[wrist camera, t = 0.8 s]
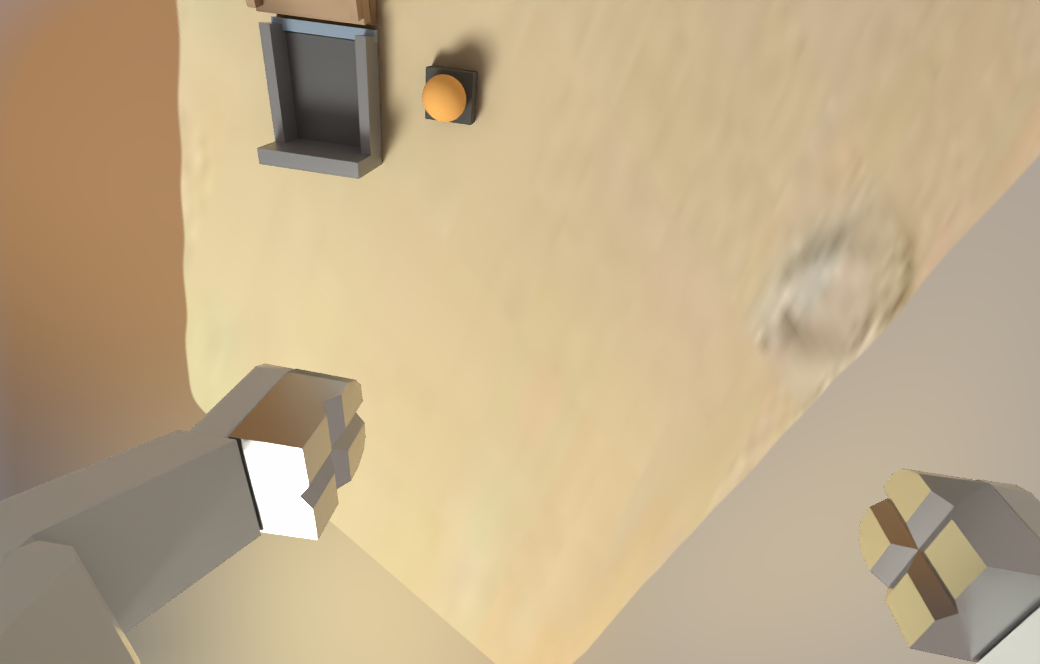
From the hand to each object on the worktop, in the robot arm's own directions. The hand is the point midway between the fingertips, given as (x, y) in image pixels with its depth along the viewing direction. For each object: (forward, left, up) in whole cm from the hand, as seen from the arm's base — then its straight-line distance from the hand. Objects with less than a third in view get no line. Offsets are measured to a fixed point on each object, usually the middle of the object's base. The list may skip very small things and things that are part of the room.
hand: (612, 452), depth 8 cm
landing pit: (+1, -22, -37) cm, 43 cm away
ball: (0, -12, -34) cm, 36 cm away
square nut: (0, -12, -37) cm, 38 cm away
